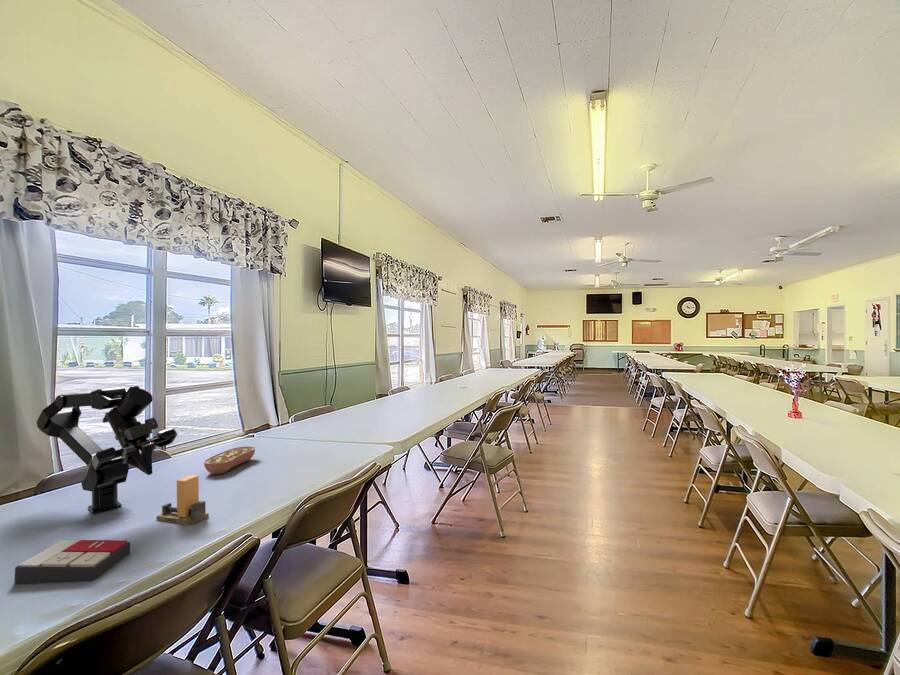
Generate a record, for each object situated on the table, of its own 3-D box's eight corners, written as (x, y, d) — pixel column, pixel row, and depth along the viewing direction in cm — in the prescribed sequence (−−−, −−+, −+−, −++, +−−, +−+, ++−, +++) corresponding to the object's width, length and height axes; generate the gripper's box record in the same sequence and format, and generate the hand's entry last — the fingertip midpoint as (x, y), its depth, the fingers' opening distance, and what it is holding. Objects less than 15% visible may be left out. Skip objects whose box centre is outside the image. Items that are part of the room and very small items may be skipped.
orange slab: (177, 516, 111) (176, 480, 111) (191, 510, 115) (191, 474, 115) (184, 517, 110) (184, 481, 110) (198, 510, 114) (198, 475, 114)
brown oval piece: (222, 478, 145) (222, 464, 145) (195, 477, 146) (195, 463, 146) (259, 459, 168) (259, 446, 168) (236, 458, 169) (236, 446, 169)
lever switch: (156, 519, 112) (156, 502, 112) (173, 512, 117) (173, 495, 117) (192, 525, 109) (192, 507, 109) (208, 517, 114) (208, 500, 114)
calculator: (94, 564, 84) (13, 564, 83) (93, 586, 84) (12, 585, 83) (131, 538, 95) (60, 537, 94) (131, 557, 95) (60, 556, 94)
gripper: (89, 424, 105) (115, 477, 102) (169, 401, 121) (195, 446, 118) (81, 444, 111) (106, 495, 108) (159, 420, 127) (183, 464, 124)
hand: (150, 474), depth 114 cm, fingers closed
